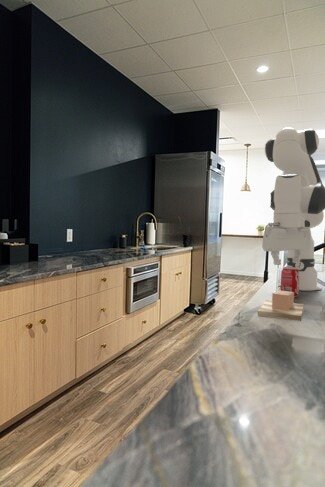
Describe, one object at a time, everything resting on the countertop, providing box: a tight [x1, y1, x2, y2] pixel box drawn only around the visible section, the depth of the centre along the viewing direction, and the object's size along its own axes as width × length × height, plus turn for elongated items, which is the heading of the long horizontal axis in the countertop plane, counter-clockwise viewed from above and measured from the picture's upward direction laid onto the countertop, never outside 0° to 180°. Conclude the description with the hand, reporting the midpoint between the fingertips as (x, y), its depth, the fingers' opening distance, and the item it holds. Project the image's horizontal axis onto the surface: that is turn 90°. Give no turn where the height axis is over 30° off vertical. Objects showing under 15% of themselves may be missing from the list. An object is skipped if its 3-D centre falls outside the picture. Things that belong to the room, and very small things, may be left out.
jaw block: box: [271, 289, 295, 311], centre depth 111 cm, size 7×5×5 cm
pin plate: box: [257, 299, 305, 322], centre depth 111 cm, size 17×13×5 cm
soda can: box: [280, 266, 300, 299], centre depth 135 cm, size 7×7×12 cm
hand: (286, 263), depth 110 cm, fingers open, 8 cm apart
